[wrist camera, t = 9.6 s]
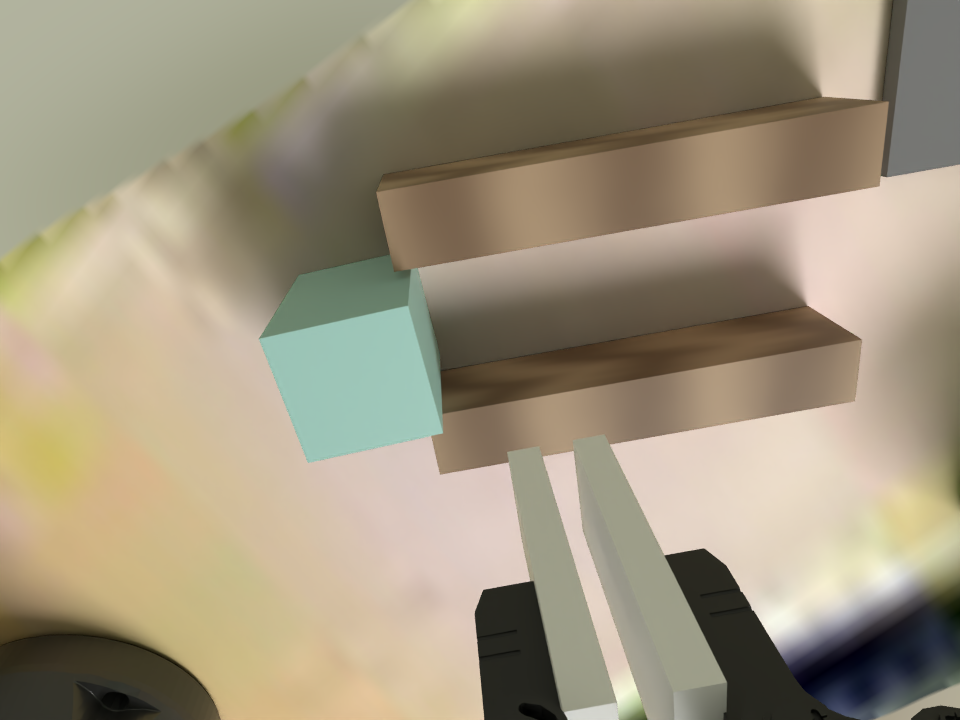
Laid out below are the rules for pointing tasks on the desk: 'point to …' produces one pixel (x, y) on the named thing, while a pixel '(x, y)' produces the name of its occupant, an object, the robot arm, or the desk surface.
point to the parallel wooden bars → (622, 207)
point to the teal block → (356, 359)
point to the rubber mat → (922, 87)
